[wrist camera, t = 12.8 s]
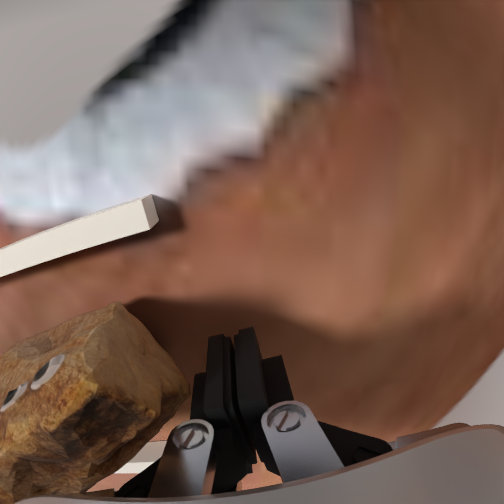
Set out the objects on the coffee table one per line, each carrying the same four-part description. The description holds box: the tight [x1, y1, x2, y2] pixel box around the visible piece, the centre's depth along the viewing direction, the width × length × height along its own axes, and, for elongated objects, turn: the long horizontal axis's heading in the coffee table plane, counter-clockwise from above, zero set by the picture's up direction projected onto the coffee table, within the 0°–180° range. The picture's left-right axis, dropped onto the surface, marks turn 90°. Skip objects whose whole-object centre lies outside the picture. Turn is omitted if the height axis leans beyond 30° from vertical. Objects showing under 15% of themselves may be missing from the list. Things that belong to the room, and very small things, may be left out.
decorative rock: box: [0, 301, 190, 504], centre depth 8 cm, size 10×5×9 cm, turn 116°
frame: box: [0, 194, 167, 473], centre depth 12 cm, size 13×14×2 cm
